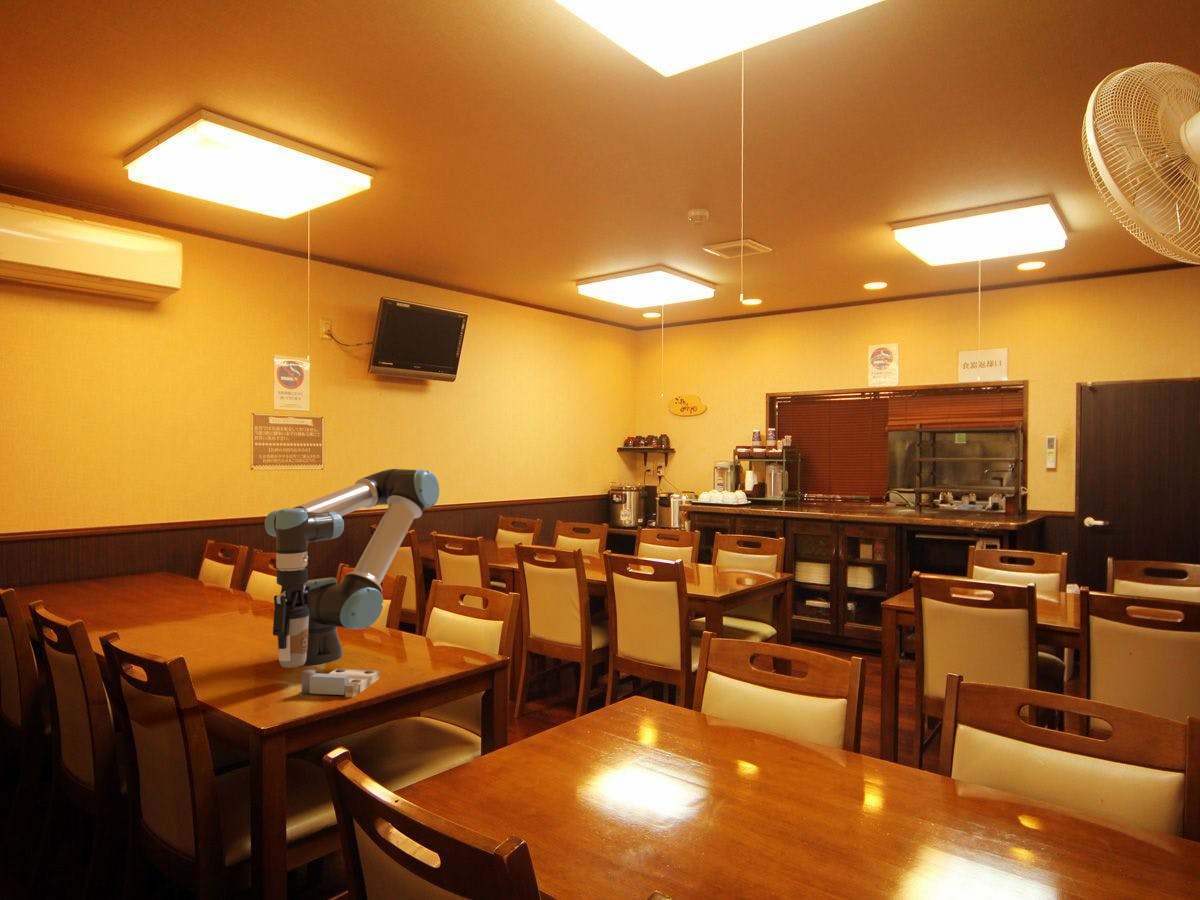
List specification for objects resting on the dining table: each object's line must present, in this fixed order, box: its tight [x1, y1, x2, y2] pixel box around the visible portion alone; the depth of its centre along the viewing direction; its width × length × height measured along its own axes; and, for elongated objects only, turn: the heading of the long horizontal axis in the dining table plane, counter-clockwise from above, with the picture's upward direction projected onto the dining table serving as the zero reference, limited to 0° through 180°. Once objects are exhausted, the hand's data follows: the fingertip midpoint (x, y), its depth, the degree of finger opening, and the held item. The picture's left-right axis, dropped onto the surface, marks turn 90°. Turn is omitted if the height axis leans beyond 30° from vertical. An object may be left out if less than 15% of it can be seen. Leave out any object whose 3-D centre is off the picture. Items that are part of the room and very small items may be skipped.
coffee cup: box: [276, 604, 310, 669], centre depth 196 cm, size 8×8×15 cm
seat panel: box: [298, 668, 381, 698], centre depth 192 cm, size 16×15×3 cm
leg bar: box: [301, 669, 349, 696], centre depth 187 cm, size 12×3×5 cm, turn 83°
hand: (293, 655), depth 196 cm, fingers closed on coffee cup, 7 cm apart
